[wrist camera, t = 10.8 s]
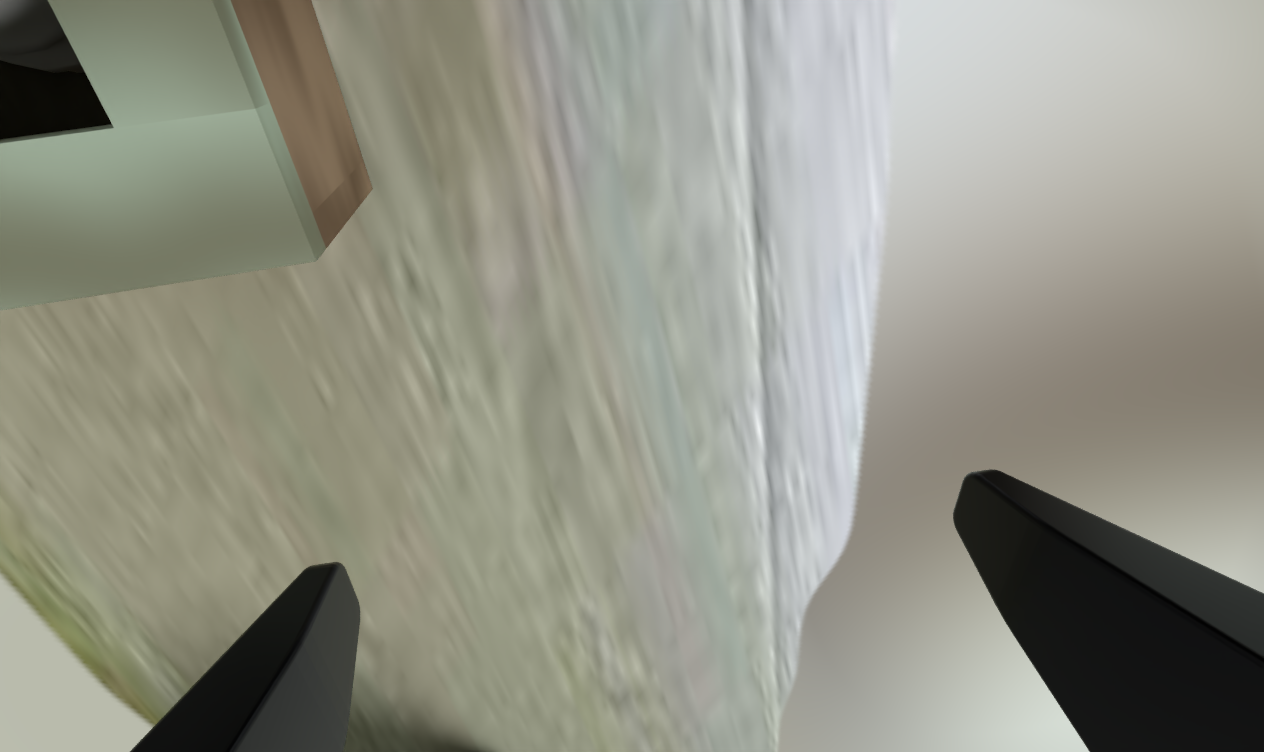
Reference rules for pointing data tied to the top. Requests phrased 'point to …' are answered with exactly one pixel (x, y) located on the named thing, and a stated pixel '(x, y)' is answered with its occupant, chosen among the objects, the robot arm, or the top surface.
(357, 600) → the robot arm
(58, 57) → the rook chess piece
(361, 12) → the top surface
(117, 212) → the box
